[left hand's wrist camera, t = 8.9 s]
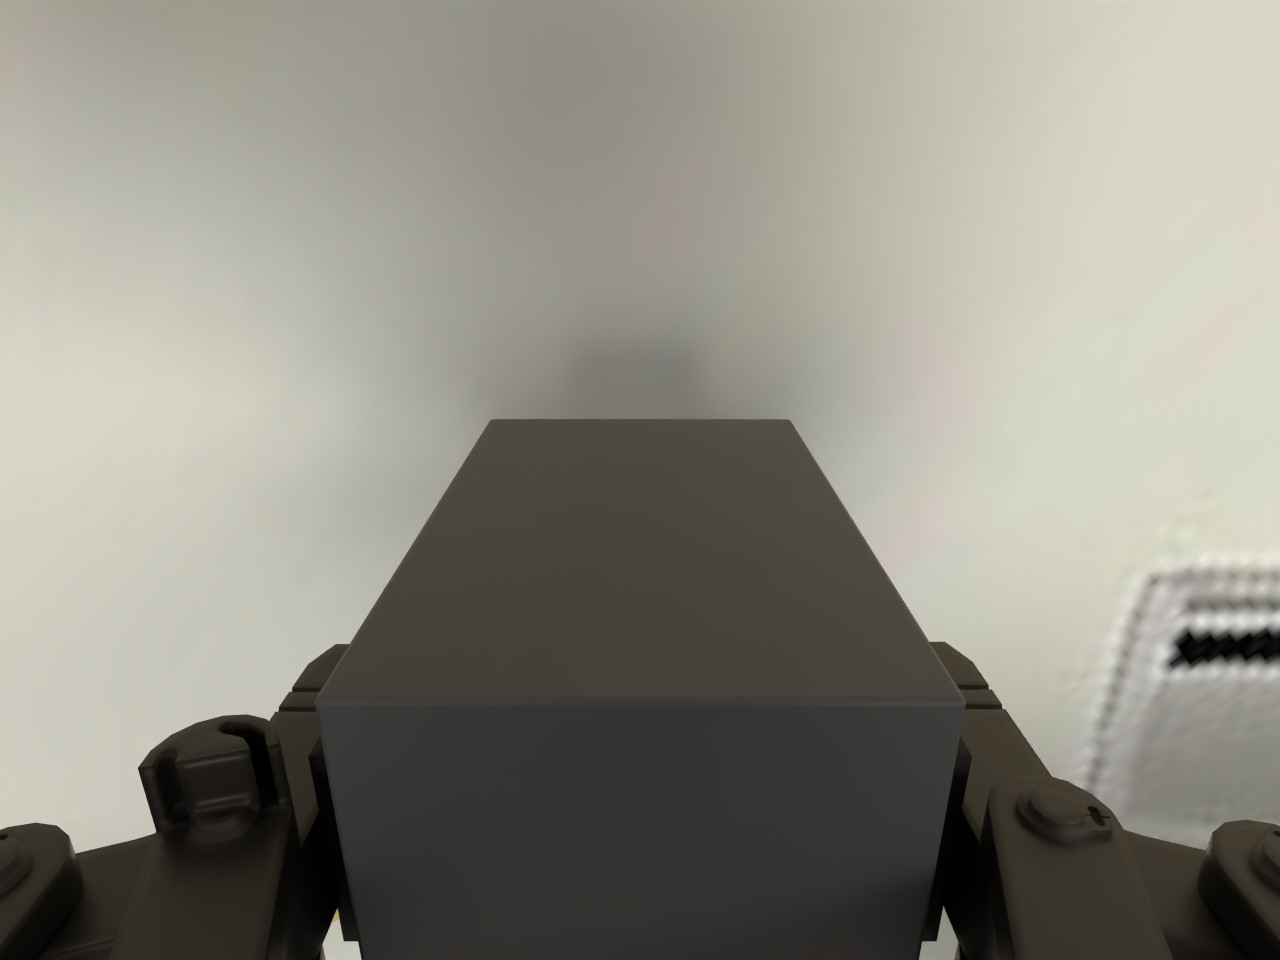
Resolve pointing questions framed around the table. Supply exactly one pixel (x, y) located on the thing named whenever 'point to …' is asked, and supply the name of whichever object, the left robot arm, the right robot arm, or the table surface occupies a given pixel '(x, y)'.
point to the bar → (640, 712)
